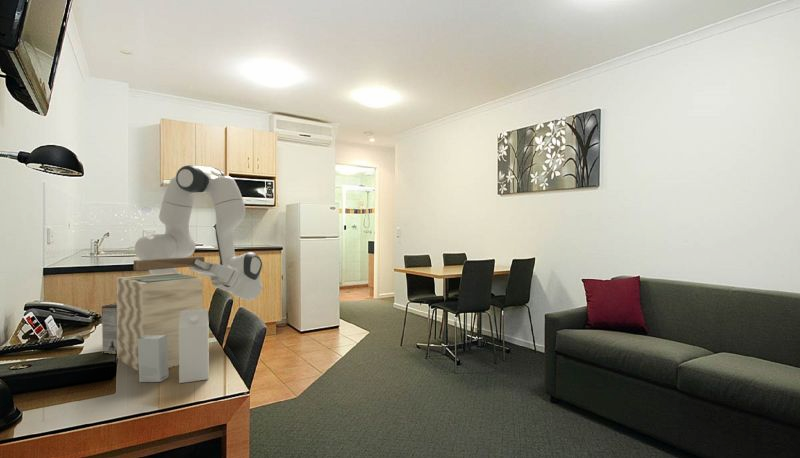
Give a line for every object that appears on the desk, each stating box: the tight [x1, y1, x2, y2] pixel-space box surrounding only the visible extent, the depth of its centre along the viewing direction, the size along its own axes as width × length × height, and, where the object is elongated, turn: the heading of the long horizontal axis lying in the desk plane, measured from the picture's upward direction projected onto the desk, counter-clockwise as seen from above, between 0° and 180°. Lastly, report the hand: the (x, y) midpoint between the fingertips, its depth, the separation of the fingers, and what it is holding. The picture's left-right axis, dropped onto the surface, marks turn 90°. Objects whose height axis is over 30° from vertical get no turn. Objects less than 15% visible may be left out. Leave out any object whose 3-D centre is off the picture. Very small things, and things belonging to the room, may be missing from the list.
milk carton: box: [178, 308, 210, 384], centre depth 116 cm, size 7×7×19 cm
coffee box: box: [101, 302, 117, 352], centre depth 142 cm, size 9×6×16 cm
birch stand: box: [115, 273, 204, 372], centre depth 132 cm, size 22×17×26 cm
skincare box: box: [137, 335, 170, 383], centre depth 115 cm, size 6×4×12 cm
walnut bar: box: [133, 256, 205, 272], centre depth 141 cm, size 4×21×3 cm, turn 141°
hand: (191, 260), depth 146 cm, fingers closed on walnut bar, 4 cm apart
